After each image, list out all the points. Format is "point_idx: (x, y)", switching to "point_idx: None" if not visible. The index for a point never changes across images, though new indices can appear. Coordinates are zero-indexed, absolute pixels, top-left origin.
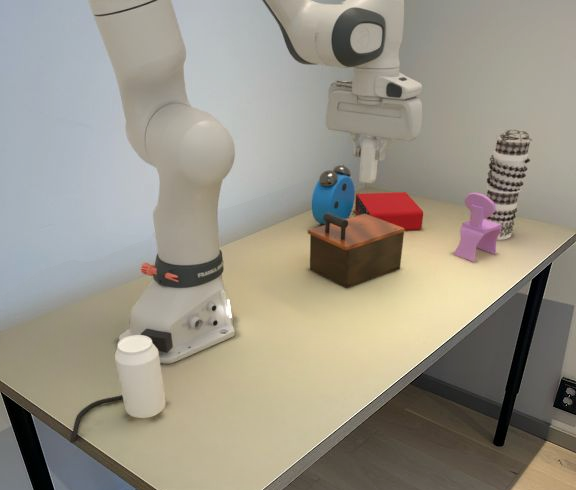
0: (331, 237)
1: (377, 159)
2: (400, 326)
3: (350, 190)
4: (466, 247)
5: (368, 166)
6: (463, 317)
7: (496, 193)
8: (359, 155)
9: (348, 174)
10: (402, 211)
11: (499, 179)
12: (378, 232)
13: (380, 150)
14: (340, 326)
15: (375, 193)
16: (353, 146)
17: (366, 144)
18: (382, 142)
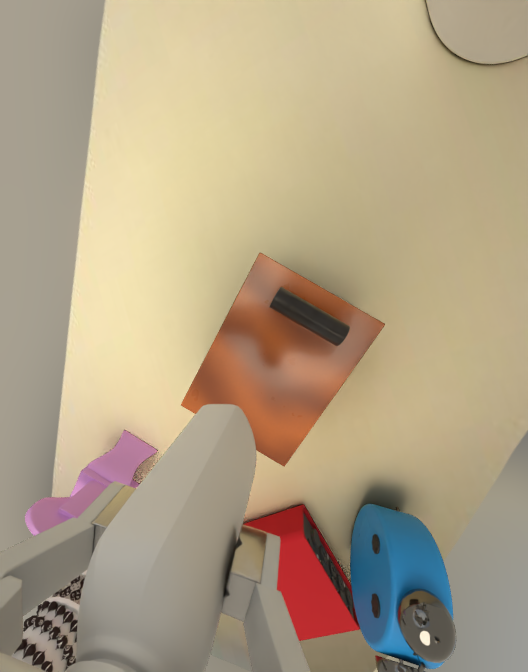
0: (311, 296)
1: (134, 489)
2: (152, 169)
3: (362, 608)
4: (129, 453)
5: (182, 441)
6: (86, 242)
7: (75, 599)
8: (240, 529)
9: (379, 658)
10: None
11: (49, 635)
12: (221, 364)
13: (79, 529)
14: (234, 120)
15: (322, 634)
16: (277, 597)
17: (132, 557)
18: (8, 583)
